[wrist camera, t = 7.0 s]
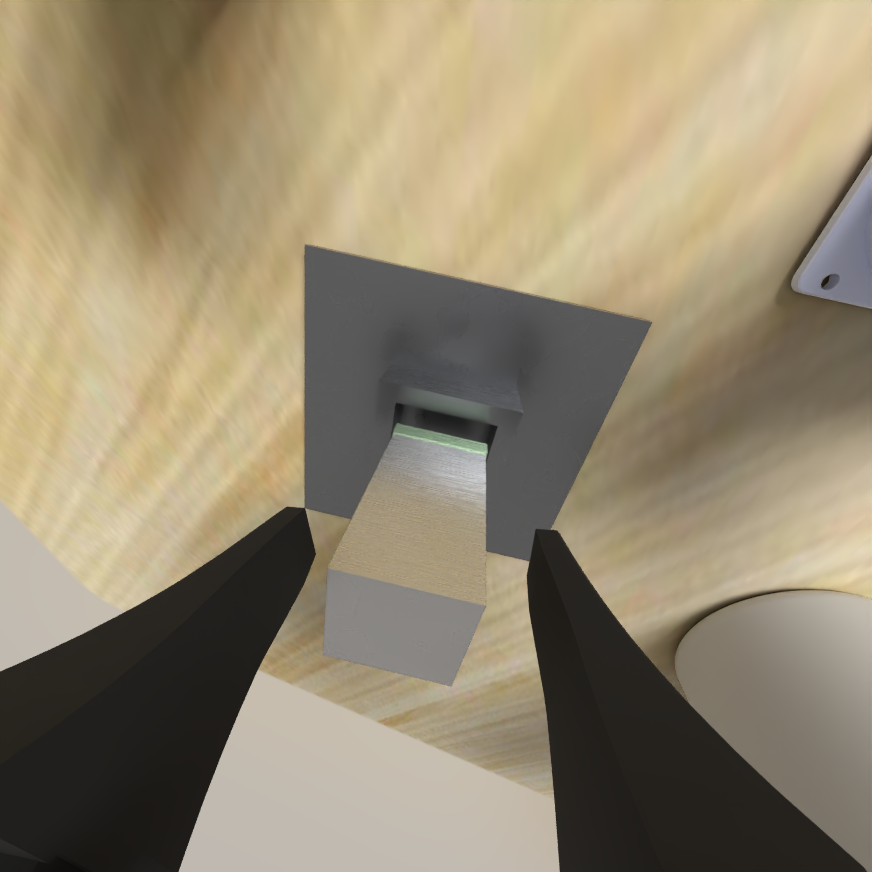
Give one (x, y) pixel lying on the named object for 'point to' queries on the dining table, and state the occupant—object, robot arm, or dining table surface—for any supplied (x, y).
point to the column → (412, 560)
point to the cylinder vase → (794, 700)
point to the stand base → (455, 383)
